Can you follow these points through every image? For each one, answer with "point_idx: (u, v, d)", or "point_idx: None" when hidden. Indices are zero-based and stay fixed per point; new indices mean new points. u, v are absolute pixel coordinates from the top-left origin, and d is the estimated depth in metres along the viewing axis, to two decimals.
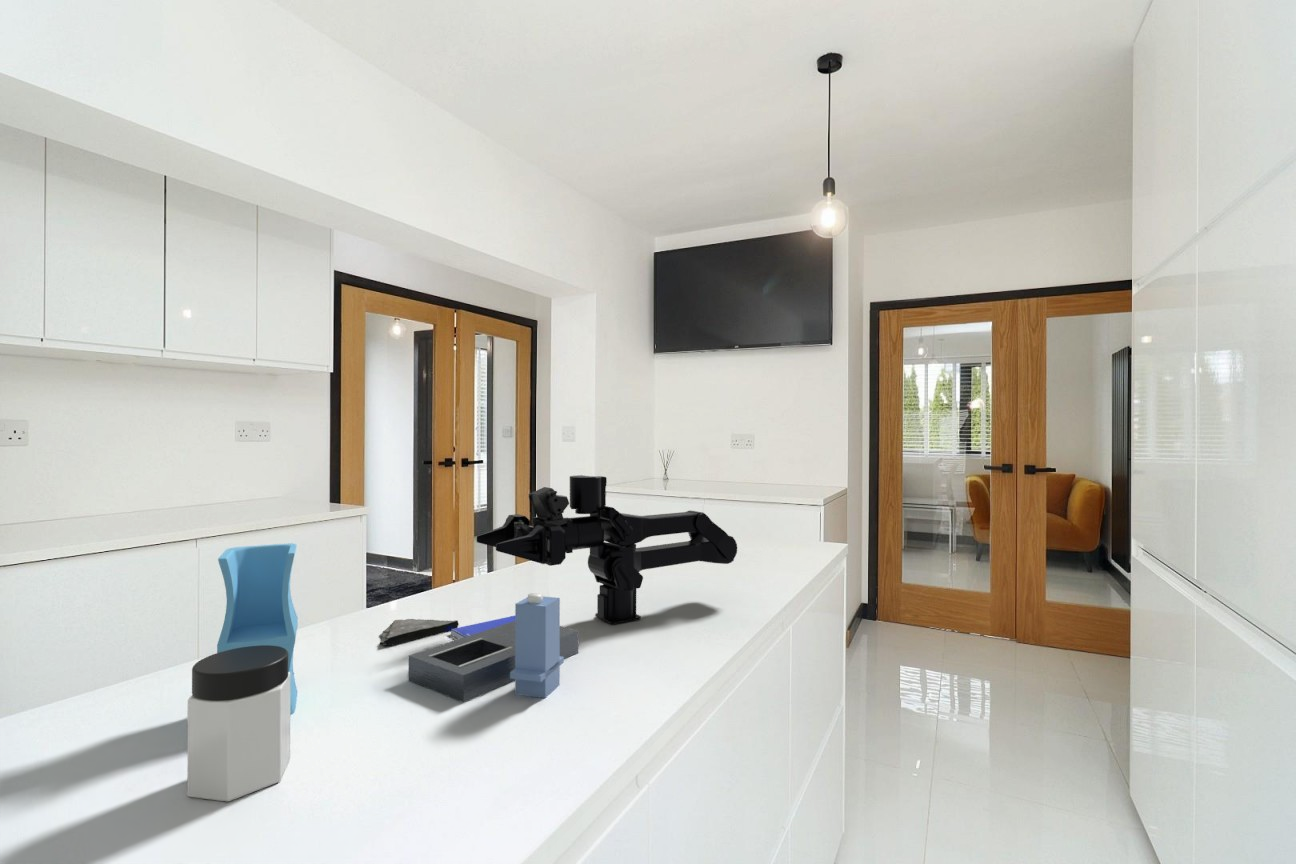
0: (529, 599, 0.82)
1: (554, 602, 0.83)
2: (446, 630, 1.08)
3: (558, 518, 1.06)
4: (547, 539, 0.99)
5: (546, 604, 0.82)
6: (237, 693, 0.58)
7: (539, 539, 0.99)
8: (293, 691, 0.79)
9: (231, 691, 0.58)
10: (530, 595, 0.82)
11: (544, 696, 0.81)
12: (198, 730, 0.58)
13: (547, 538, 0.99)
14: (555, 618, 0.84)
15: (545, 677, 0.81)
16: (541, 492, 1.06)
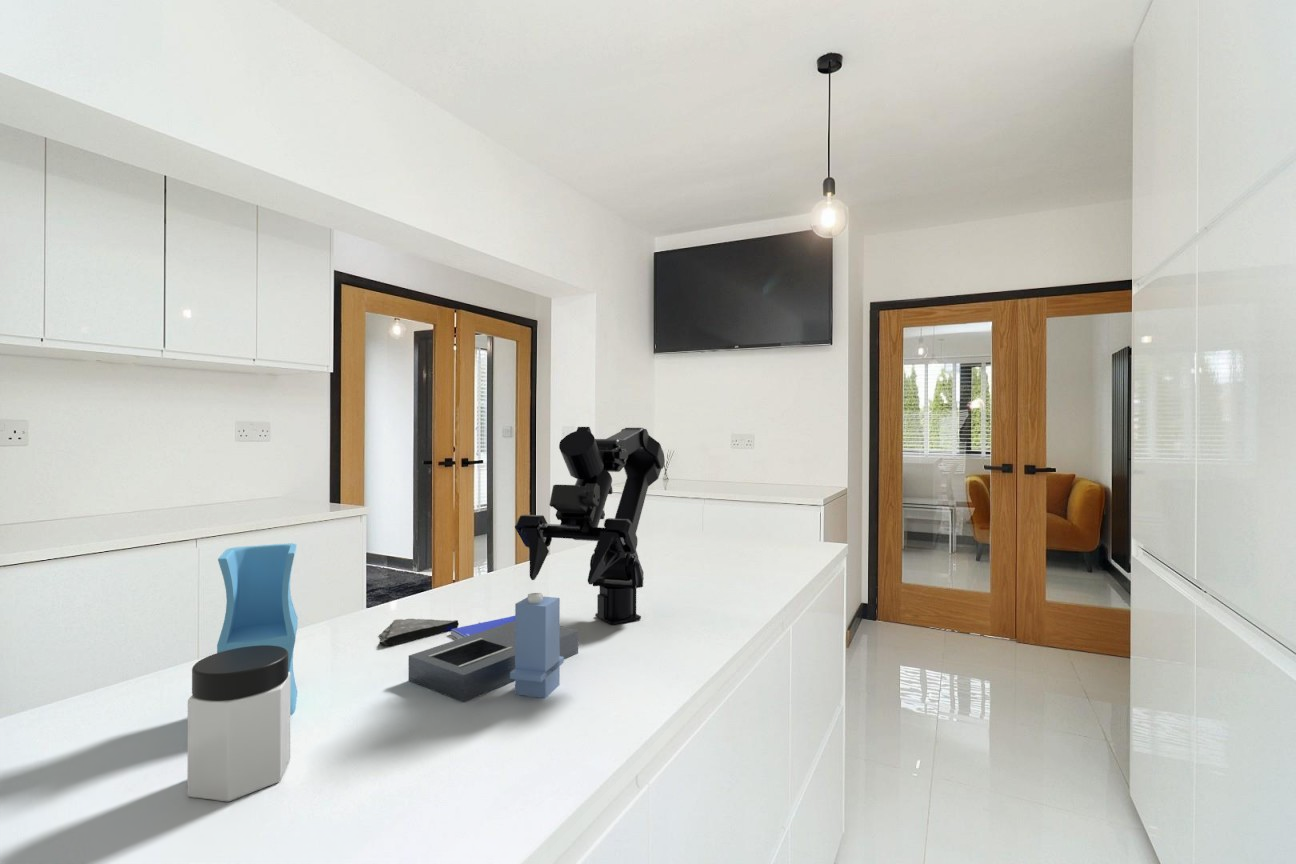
0: (529, 599, 0.82)
1: (554, 602, 0.83)
2: (446, 630, 1.08)
3: None
4: (621, 538, 0.93)
5: (546, 604, 0.82)
6: (237, 693, 0.58)
7: (613, 543, 0.92)
8: (293, 691, 0.79)
9: (231, 691, 0.58)
10: (530, 595, 0.82)
11: (544, 696, 0.81)
12: (198, 730, 0.58)
13: (620, 537, 0.92)
14: (555, 618, 0.84)
15: (545, 677, 0.81)
16: (570, 497, 0.91)
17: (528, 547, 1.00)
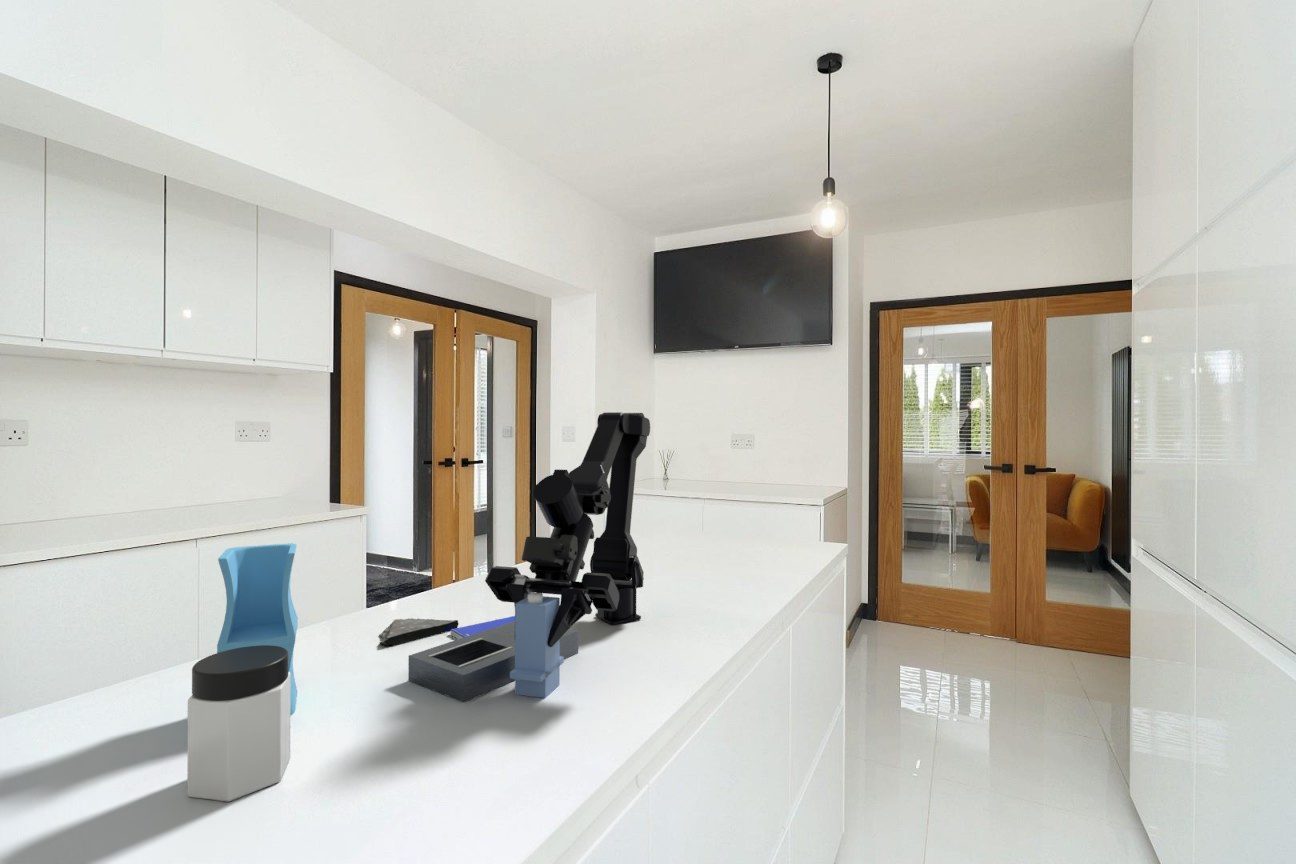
0: (529, 599, 0.82)
1: (554, 601, 0.83)
2: (446, 630, 1.08)
3: None
4: (585, 594, 0.85)
5: (546, 604, 0.82)
6: (237, 693, 0.58)
7: (576, 600, 0.85)
8: (293, 691, 0.79)
9: (231, 691, 0.58)
10: (530, 595, 0.82)
11: (544, 696, 0.81)
12: (198, 730, 0.58)
13: (585, 593, 0.85)
14: None
15: (545, 677, 0.81)
16: (544, 551, 0.83)
17: (501, 600, 0.92)
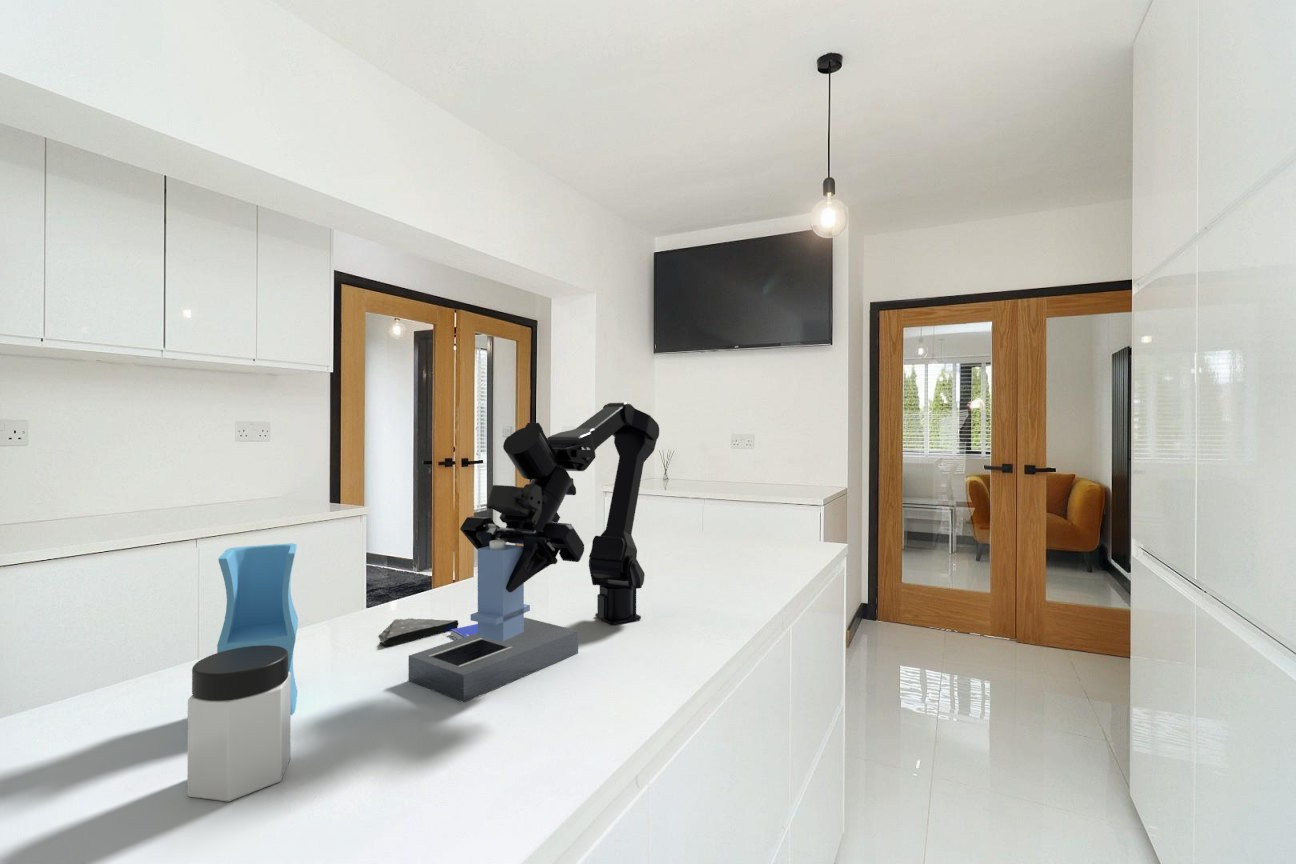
0: (490, 545, 0.84)
1: (516, 549, 0.85)
2: (446, 630, 1.08)
3: None
4: (547, 543, 0.86)
5: (505, 550, 0.83)
6: (237, 693, 0.58)
7: (539, 548, 0.85)
8: (293, 691, 0.79)
9: (231, 691, 0.58)
10: (492, 541, 0.84)
11: (502, 639, 0.82)
12: (198, 730, 0.58)
13: (547, 542, 0.85)
14: None
15: (503, 621, 0.82)
16: (505, 498, 0.84)
17: None
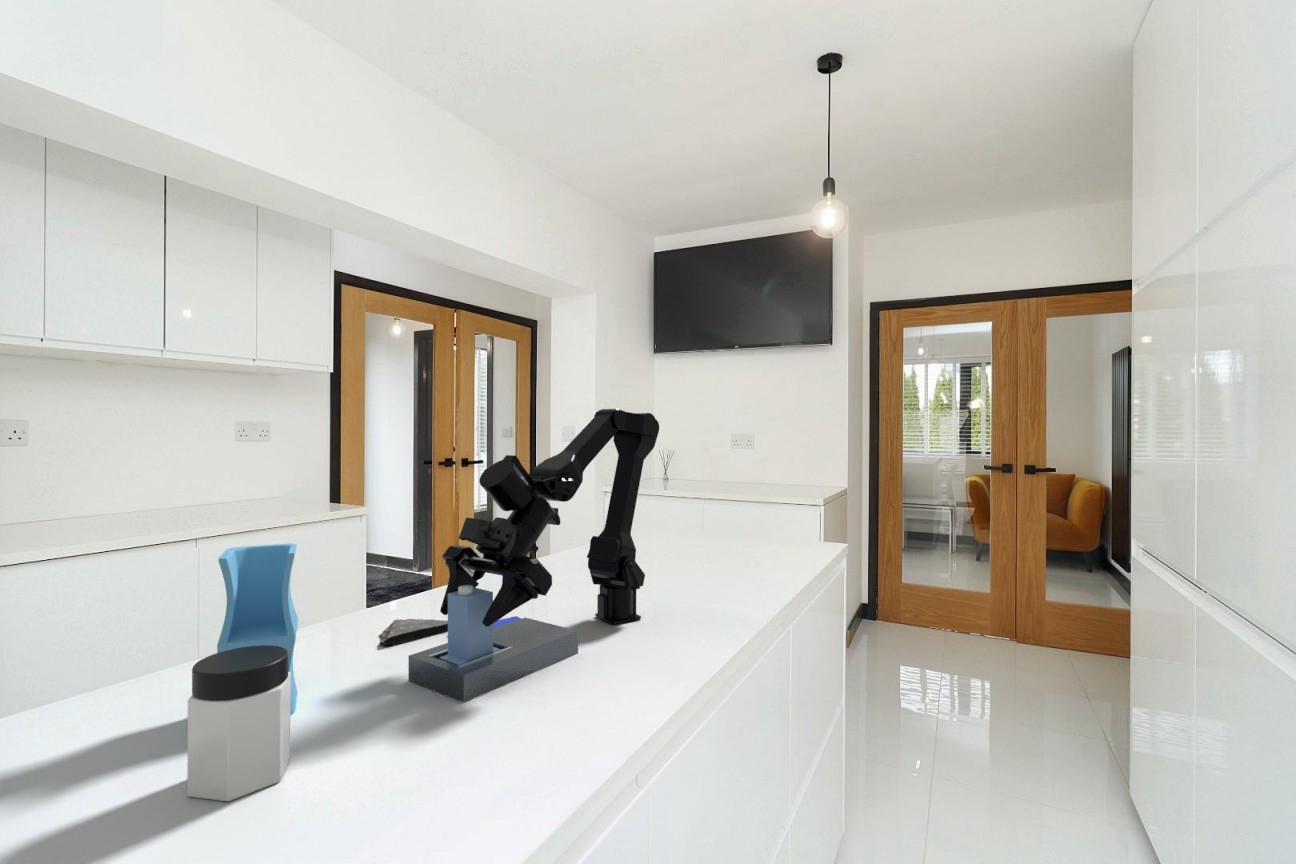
0: (458, 590, 0.86)
1: (483, 595, 0.87)
2: (446, 630, 1.08)
3: None
4: (526, 578, 0.86)
5: (470, 597, 0.85)
6: (237, 693, 0.58)
7: (517, 583, 0.86)
8: (293, 691, 0.79)
9: (231, 691, 0.58)
10: (460, 587, 0.87)
11: None
12: (198, 730, 0.58)
13: (525, 578, 0.86)
14: (485, 611, 0.87)
15: None
16: (474, 532, 0.87)
17: None
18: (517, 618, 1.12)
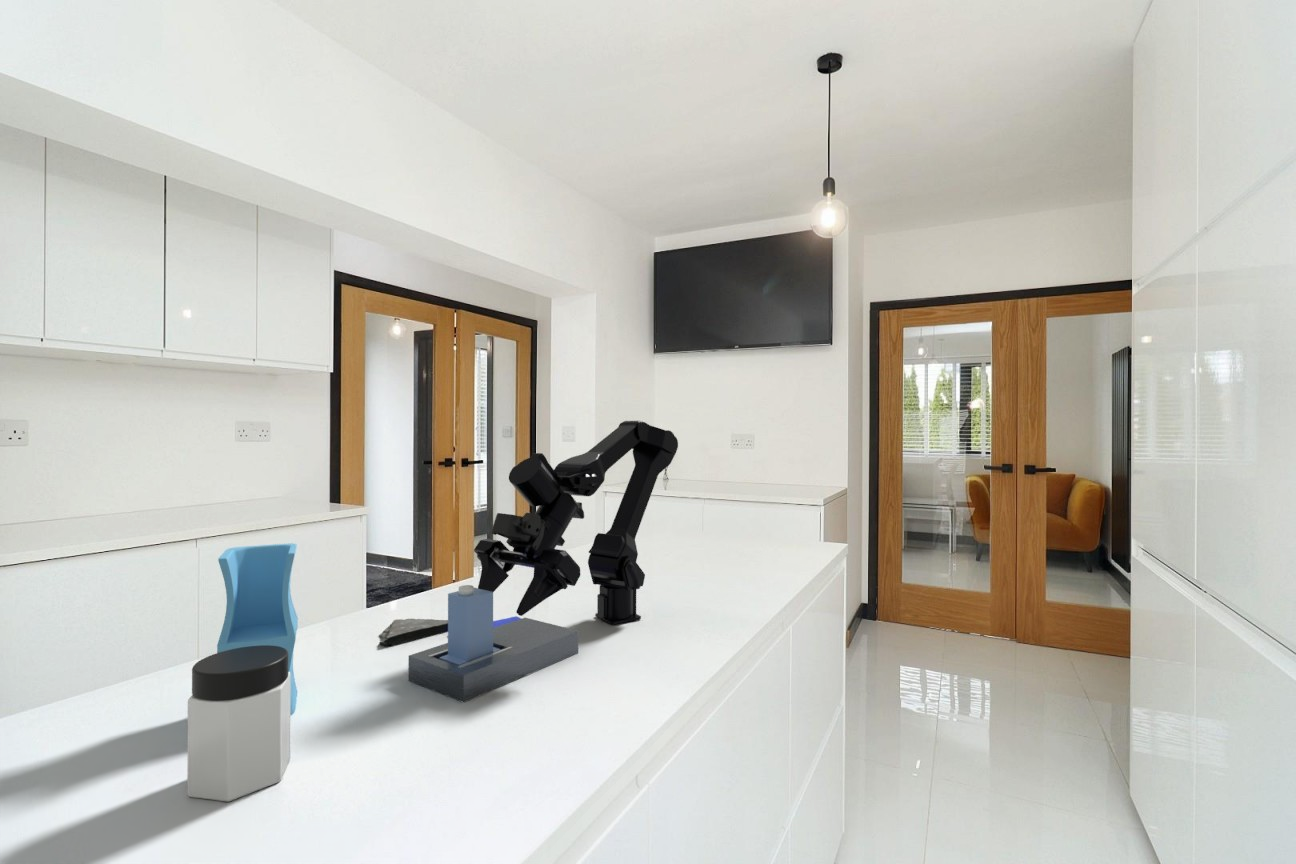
0: (459, 590, 0.87)
1: (484, 595, 0.87)
2: (446, 630, 1.08)
3: None
4: (556, 570, 0.91)
5: (471, 597, 0.85)
6: (237, 693, 0.58)
7: (548, 574, 0.91)
8: (293, 691, 0.79)
9: (231, 691, 0.58)
10: (461, 587, 0.87)
11: None
12: (198, 730, 0.58)
13: (555, 569, 0.91)
14: (485, 611, 0.87)
15: None
16: (506, 526, 0.92)
17: None
18: (517, 618, 1.12)
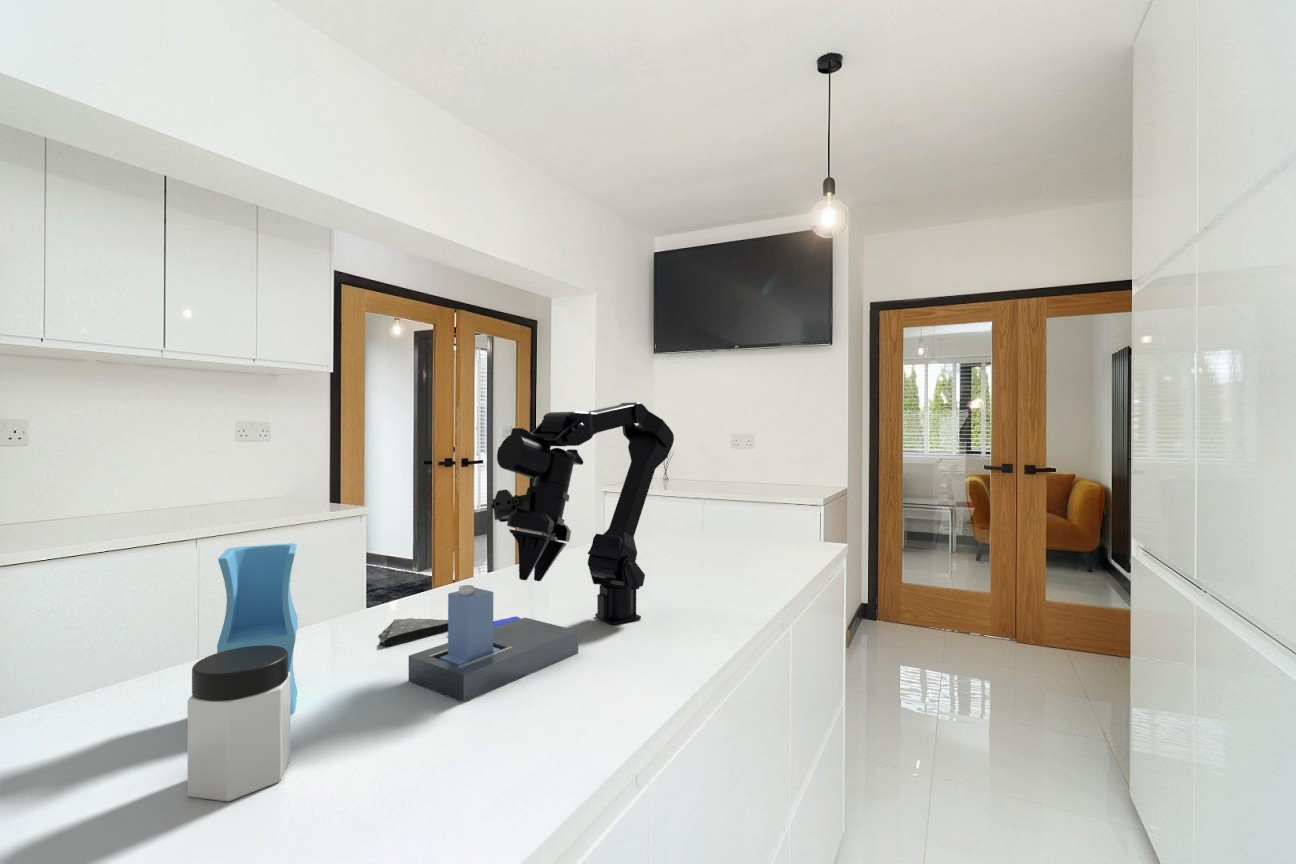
0: (459, 590, 0.87)
1: (484, 595, 0.87)
2: (446, 629, 1.08)
3: (523, 501, 0.99)
4: (521, 528, 0.92)
5: (471, 597, 0.85)
6: (237, 693, 0.58)
7: (522, 535, 0.93)
8: (293, 691, 0.79)
9: (231, 691, 0.58)
10: (461, 586, 0.87)
11: None
12: (198, 730, 0.58)
13: (520, 528, 0.92)
14: (485, 611, 0.87)
15: None
16: None
17: (567, 541, 1.08)
18: (517, 618, 1.12)
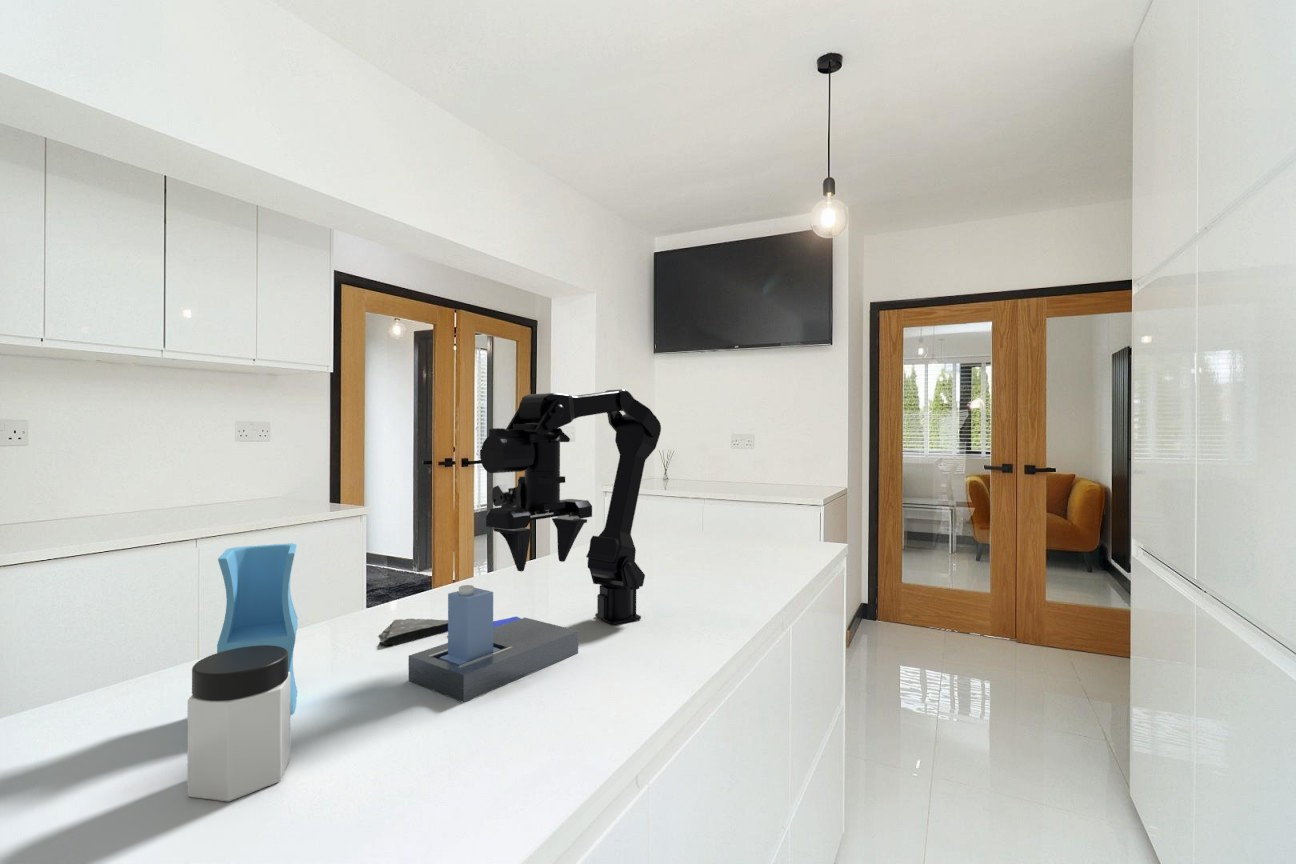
0: (459, 590, 0.87)
1: (484, 595, 0.87)
2: (446, 630, 1.08)
3: None
4: None
5: (471, 597, 0.85)
6: (237, 693, 0.58)
7: None
8: (293, 691, 0.79)
9: (231, 691, 0.58)
10: (461, 586, 0.87)
11: None
12: (198, 730, 0.58)
13: None
14: (485, 611, 0.87)
15: None
16: None
17: (591, 516, 1.06)
18: (517, 618, 1.12)
